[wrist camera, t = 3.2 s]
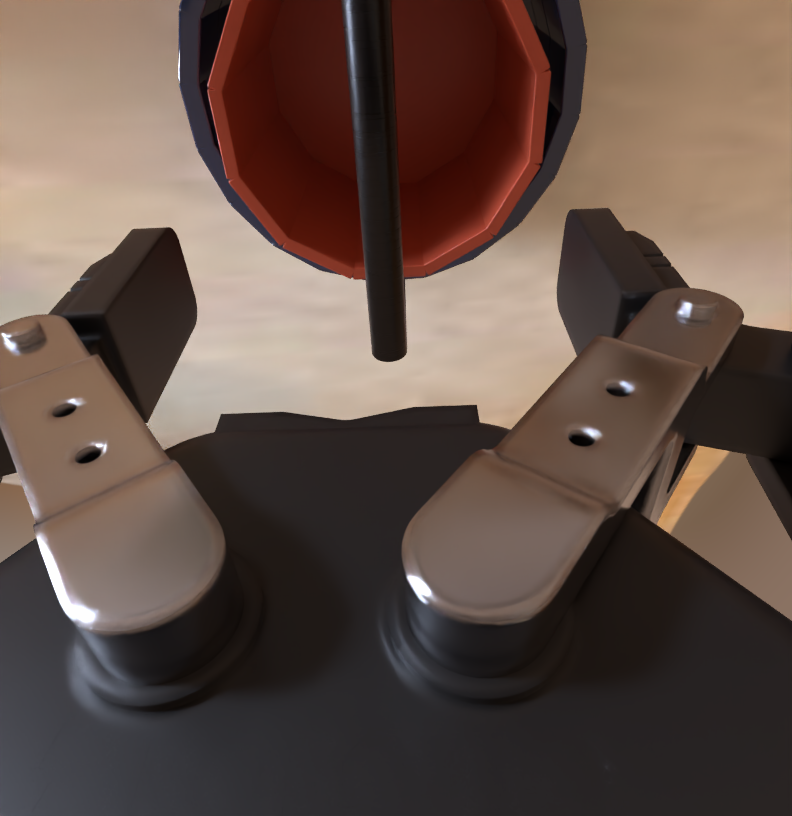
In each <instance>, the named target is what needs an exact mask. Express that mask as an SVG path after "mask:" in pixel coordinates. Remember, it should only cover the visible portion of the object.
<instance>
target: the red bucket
mask: <svg viewBox="0 0 792 816" xmlns="http://www.w3.org/2000/svg"><path fill="white" fill-rule="evenodd" d="M549 68H550V64H549V62H548V59H547V57H546V55H545V52H544V50H543V48H542V45H541V43H540V41H539V38H538V36H537V33H536V31H535V29H534V26H533V24H532V22H531V19H530V17H529V15H528V12H527V10H526V8H525V5H524V3H523V1H522V0H231V4H230V7H229V11H228V14H227V18H226V21H225V25H224V28H223V32H222V35H221V39H220V42H219V46H218V49H217V53H216V56H215V60H214V63H213V67H212V70H211V74H210V77H209V81H208V84H207V85H208V87H209V89H208V90H207V93H208V97H209V102H210V106H211V111H212V115H213V120H214V124H215V129H216V133H217V138H218V142H219V147H220V151H221V156H222V160H223V165H224V169H225V174H226V178H227V179H230V181H229V184H230V185H231V186H232V187H233V189H234V190H235V191H236V192H237V194H238V195H239V196H240V197H241V198H242V200H243V201H244V202H245V203H246V205H247V206H248V207H249V208H250V210H251V211H252V212H253V213H254V215H255V216H256V217H257V218H258V219H259V221H260V222H261V223H262V224H263V226H264V227H265V228H266V229H267V231H268V232H269V233H270V234H271V235H272V237H273V238H274V239H275V240H276V242H277V243H278V244H279V245H280V246H281V245H283V248H284V249H286V250H288V251H291V252H293V253H295V254H297V255H299V256H302V257H304V258H306V259H308V260H310V261H312V262H315V263H317V264H319V265H321V266H323V267H326V268H328V269H330V270H332V271H334V272H337V273H339V274H341V275H343V276H345V277H348V278H350V279H351V278H352V276H353V278H354V279H366V288H367V299H368V311H369V322H370V333H371V345H372V354H373V356H374V357H375V358H376V359H377V360H380V361H384V362H393V361H397V360H400V359H402V358H403V357H404V356H405V355H406V353H407V333H406V297H405V277H420V276H426V272H427V274H428V275H430V274H432V273H434V272H435V271H437V270H439V269H441V268H442V267H444V266H446V265H448V264H449V263H451V262H453V261H454V260H456V259H458V258H460V257H461V256H463V255H465V254H467V253H468V252H470V251H472V250H474V249H475V248H477V247H479V246H480V245H482V244H484V243H486V242H487V241H489V240H491V239H493V235H497V233H498V232H499V230H500V229H501V227H502V226H503V224H504V223H505V221H506V219H507V218H508V216H509V215H510V213H511V212H512V210H513V209H514V207H515V206H516V204H517V202H518V201H519V199H520V198H521V196H522V195H523V193H524V192H525V190H526V189H527V187H528V185H529V184H530V182H531V181H532V179H533V178H534V176H535V175H536V173H537V172H538V170H539V168H540V165H539V163H542V159H543V149H544V139H545V129H546V119H547V109H548V99H549V89H550V79H551V71H550V70H549Z"/></svg>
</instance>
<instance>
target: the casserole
mask: <svg viewBox="0 0 792 816" xmlns="http://www.w3.org/2000/svg"><path fill="white" fill-rule="evenodd" d="M522 1H523V3H524V5H525V8H526V10H527V12H528V15H529V17H530V19H531V22H532V24H533V26H534V29H535V31H536V33H537V36H538V38H539V41H540V43H541V45H542V48H543V50H544V52H545V55H546V57H547V59H548V62H549V64H550V68H549V70H550V71H551V79H550V89H549V99H548V109H547V119H546V129H545V139H544V149H543V159H542V163H539V165H540V168H539V170H538V172H537V173H536V175H535V176H534V178H533V179H532V181H531V182H530V184H529V185H528V187H527V189H526V190H525V192H524V193H523V195H522V196H521V198H520V199H519V201H518V202H517V204H516V206H515V207H514V209H513V210H512V212H511V213H510V215H509V216H508V218H507V219H506V221H505V223H504V224H503V226H502V227H501V229H500V230H499V232H498V233H497V235H493V239H491V240H489V241H487V242H486V243H484V244H482V245H480V246H479V247H477V248H475V249H474V250H472V251H470V252H468V253H467V254H465V255H463V256H461V257H460V258H458V259H456V260H454V261H453V262H451V263H449V264H448V265H446V266H444V267H442V268H441V269H439V270H437V271H435V272H434V273H432V274H430V275H433V274H436V273H438V272H441V271H444V270H446V269H449V268H451V267H454V266H457V265H459V264H462V263H465V262H467V261H470V260H473V259H474V258H476V257H477V256H478V255H480V254H481V253H482V252H484V251H485V250H486V249H488V248H489V247H490V246H492V245H493V244H494V243H496V242H497V241H498V240H500V239H501V238H502V237H504V236H505V235H506V234H508V233H509V232H510V231H512V230H513V229H514V228H516V227H517V226H518V225H519V224H520V223H521V222H522V221H523V219H524V218H525V217H526V215H527V214H528V213H529V211H530V210H531V209H532V207H533V206H534V205H535V204H536V202H537V201H538V200H539V198H540V197H541V196H542V194H543V193H544V192H545V190H546V189H547V188H548V186H549V185H550V184H551V182H552V181H553V180H554V178H555V176H556V175H557V173H558V170H559V168H560V165H561V163H562V160H563V158H564V155H565V152H566V150H567V147H568V145H569V142H570V140H571V137H572V135H573V132H574V130H575V127H576V125H577V122H578V120H579V114H580V113H581V103H582V93H583V83H584V73H585V63H586V53H587V44H586V43H587V38H586V33H585V28H584V23H583V17H582V12H581V7H580V2H579V0H522ZM230 4H231V0H181V3H180V6H179V9H180V10H179V57H178V80H179V82H180V83H179V87H180V91H181V94H182V98H183V101H184V105H185V109H186V112H187V116H188V119H189V123H190V126H191V130H192V134H193V137H194V141H195V144H196V147H197V149H198V152H199V154H200V156H201V157H202V159H203V161H204V162H205V164H206V166H207V167H208V169H209V171H210V172H211V174H212V176H213V177H214V179H215V181H216V182H217V184H218V186H219V187H220V189H221V191H222V192H223V194H224V196H225V197H226V199H227V200H228V202H229V203H231V206H232V207H233V208H234V209H235V210H236V211H237V212H239V213H240V214H241V215H242V216H243V217H244V218H245V219H246V220H247V221H248V222H249V223H250V224H251V225H252V226H253V227H254V228H255V229H256V230H257V231H258V232H260V233H261V234H262V235H263V236H264V237H265V238H266V239H267V240H268V241H269V242H270V243H271V244H273V246H275V247H277V248H279V249H281V250H283V251H285V252H286V253H288V254H290V255H292V256H294V257H296V258H298V259H300V260H302V261H303V262H305V263H307V264H309V265H311V266H313V267H315V268H317V269H318V270H321V271H325V272H330V273H334V274H339V273H337V272H334V271H332V270H330V269H328V268H326V267H323V266H321V265H319V264H317V263H315V262H312V261H310V260H308V259H306V258H304V257H302V256H299V255H297V254H295V253H293V252H291V251H288V250H286V249H284V248H283V245H281V246H280V245H279V244H278V243H277V242H276V240H275V239H274V238H273V237H272V235H271V234H270V233H269V232H268V231H267V229H266V228H265V227H264V226H263V224H262V223H261V222H260V221H259V219H258V218H257V217H256V216H255V215H254V213H253V212H252V211H251V210H250V208H249V207H248V206H247V205H246V203H245V202H244V201H243V200H242V198H241V197H240V196H239V195H238V194H237V192H236V191H235V190H234V189H233V187H232V186H231V185H230V184H229V181H230V179H227V178H226V174H225V169H224V165H223V160H222V156H221V151H220V147H219V142H218V138H217V133H216V129H215V124H214V120H213V115H212V111H211V106H210V102H209V97H208V93H207V90H208V89H209V87H208V85H207V84H208V81H209V77H210V74H211V70H212V67H213V63H214V60H215V56H216V53H217V49H218V46H219V42H220V39H221V35H222V32H223V28H224V25H225V21H226V18H227V14H228V11H229V7H230ZM339 275H341V274H339ZM430 275H428V274H427V272H426V276H420V277H405V279H414V278H424V277H428V276H430ZM352 277H353V276H352ZM363 280H366V279H363Z"/></svg>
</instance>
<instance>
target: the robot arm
mask: <svg viewBox="0 0 792 816" xmlns="http://www.w3.org/2000/svg"><path fill="white" fill-rule="evenodd" d="M557 303H558V309H559V312H560V315H561V317H562V320H563V322H564V325H565V327H566V330H567V332H568V334H569V337H570V339H571V342H572V344H573V347H574V349H575V352H576V354H577V357H576V358H575V360H574V361H573V362H572V363H571V364H570V365H569V366H568V367H567V368H566V369H565V371H564V372H563V373H562V374H561V375H560V376H559V377H558V378H557V379H556V381H555V382H554V383H553V384H552V385H551V386H550V387H549V388H548V389H547V391H546V392H545V393H544V394H543V395H542V396H541V397H540V398H539V399H538V401H537V402H536V403H535V404H534V405H533V406H532V407H531V408H530V409H529V410H528V412H527V413H526V414H525V415H524V416H523V417H522V418H521V419H520V420H519V422H518V423H517V424H516V425H515V426H514V427H513V428H512V429H511V430H510V429H507V428H504V427H499V426H495V425H491V424H485V423H480V422H479V416H478V410H477V405H461V406H433V407H412V408H407V409H402V410H397V411H393V412H388V413H383V414H378V415H373V416H368V417H363V418H359V419H354V420H337V419H330V418H323V417H316V416H309V415H301V414H294V413H287V412H268V413H241V414H221V416H220V419H219V422H218V425H217V427H216V430H215V432H214V433H209V434H205V435H202V436H198V437H195V438H192V439H189V440H187V441H184V442H181V443H179V444H177V445H175V446H172V447H170V448H168V449H166V450H163V449H162V447H161V446H160V444H159V443H158V441H157V440H156V439H155V437H154V436H153V434H152V433H151V431H150V430H149V428H148V427H147V425H146V424H145V423H148V421H149V419H150V416H151V414H152V412H153V410H154V408H155V406H156V404H157V402H158V400H159V398H160V396H161V394H162V392H163V390H164V388H165V386H166V384H167V382H168V380H169V378H170V376H171V374H172V372H173V370H174V368H175V366H176V364H177V362H178V360H179V358H180V356H181V354H182V352H183V350H184V348H185V346H186V343H187V341H188V339H189V337H190V335H191V333H192V331H193V329H194V327H195V325H196V320H197V304H196V298H195V295H194V291H193V288H192V284H191V281H190V277H189V274H188V270H187V267H186V263H185V260H184V256H183V253H182V249H181V246H180V243H179V239H178V237H177V235H176V233H175V231H174V230H173V229H172V228H169V227H167V228H146V229H133V230H132V231H131V232H130V233H129V234H128V235H127V236H126V238H125V239H124V240H123V241H122V242H121V243H120V245H119V246H118V247H117V248H116V249H115V251H114V252H113V253H112V254H109V255H108V256H106V257H104V258H103V259H101V260H99V261H98V262H96V263H94V264H93V265H91V266H90V267H89V268H88V269H87V271H86V272H85V273H84V274H83V275H82V276H81V277H80V281H77V282H76V283H75V284H74V285H73V286H72V288H71V291H70V292H67V293H66V294H65V296H64V297H63V298H62V299H61V300H60V301H59V302H58V304H57V305H56V306H55V307H54V308H53V309H52V310H51V312H50V313H49V314H48V315H47V314H45V315H34V316H28V317H24V318H20V319H17V320H14V321H11V322H8V323H6V324H4V325H1V326H0V483H1V481H2V477H3V476H5V475H9V474H13V473H18V476H19V478H20V481H21V484H22V486H23V489H24V492H25V494H26V497H27V499H28V502H29V505H30V508H31V510H32V512H33V515H34V518H35V521H36V524H34V526H33V527H34V532H35V535H36V539H34V540H33V541H31V542H30V543H28V544H27V545H26V546H24V547H23V548H21V549H20V550H18V551H17V552H15V553H14V554H13V555H11V556H10V557H8V558H7V559H5V560H4V561H3V562H1V563H0V816H792V621H791V620H790V619H788V618H787V617H785V616H784V615H783V614H781V613H780V612H778V611H777V610H775V609H774V608H773V607H771V606H770V605H769V604H767V603H766V602H764V601H763V600H761V599H760V598H758V597H757V596H756V595H754V594H753V593H752V592H750V591H749V590H747V589H746V588H745V587H743V586H742V585H740V584H739V583H737V582H736V581H735V580H733V579H732V578H730V577H729V576H728V575H726V574H725V573H723V572H722V571H721V570H719V569H718V568H716V567H715V566H714V565H712V564H711V563H709V562H708V561H707V560H705V559H704V558H702V557H701V556H700V555H698V554H697V553H695V552H694V551H693V550H691V549H689V548H688V547H687V546H685V545H684V544H683V543H681V542H680V541H678V540H677V539H676V538H674V537H673V536H671V535H670V534H669V533H667V532H666V531H664V530H663V529H662V528H660V527H659V526H657V522H658V520H659V518H660V516H661V514H662V512H663V510H664V508H665V507H666V505H667V503H668V501H669V499H670V497H671V496H672V494H673V492H674V490H675V488H676V486H677V485H678V483H679V481H680V479H681V477H682V476H683V474H684V472H685V470H686V468H687V466H688V465H689V463H690V461H691V459H692V457H693V455H694V454H695V451H696V449H697V446H698V445H700V446H705V447H711V448H716V449H721V450H727V451H732V452H738V453H743V454H746V458H747V460H748V462H749V464H750V466H751V468H752V470H753V471H754V473H755V475H756V477H757V478H758V480H759V482H760V484H761V486H762V488H763V489H764V491H765V493H766V495H767V497H768V499H769V500H770V502H771V504H772V506H773V508H774V509H775V511H776V513H777V515H778V517H779V518H780V520H781V522H782V524H783V526H784V527H785V529H786V531H787V533H788V535H789V536H790V538H791V540H792V332H790V331H782V330H774V329H766V328H758V327H752V326H747V325H743V324H742V321H743V318H744V313H743V311H742V309H741V308H740V306H739V305H738V304H736V303H735V302H734V301H732V300H731V299H729V298H727V297H725V296H723V295H720V294H718V293H715V292H711V291H707V290H702V289H695V288H690V287H689V286H688V285H687V283H686V282H685V281H684V280H683V278H682V277H681V276H680V275H679V273H678V272H677V271H676V269H675V268H674V267H671V263H670V262H669V261H668V259H667V258H666V257H665V256H663V253H662V252H661V250H660V249H659V248H658V247H657V245H656V244H655V243H654V242H653V241H652V240H650V239H648V238H646V237H644V236H643V235H641V234H639V233H637V232H635V231H625V230H624V228H623V227H622V225H621V224H620V223H619V221H618V220H617V219H616V217H615V216H614V214H613V213H612V212H611V210H610V209H609V208H594V209H572V210H570V211H569V212H568V215H567V218H566V222H565V229H564V236H563V244H562V251H561V259H560V267H559V274H558V282H557Z"/></svg>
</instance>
